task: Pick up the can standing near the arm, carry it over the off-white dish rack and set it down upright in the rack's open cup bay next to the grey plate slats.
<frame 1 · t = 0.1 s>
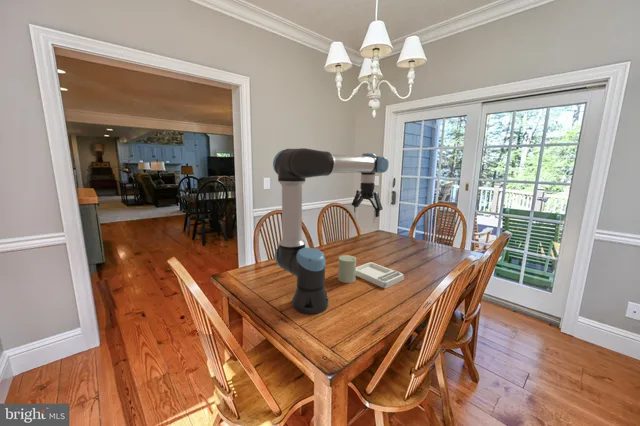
hand: (365, 220, 147), 28 cm above the table, fingers open, 13 cm apart
rack: (377, 276, 140), on the table
can: (346, 279, 136), on the table
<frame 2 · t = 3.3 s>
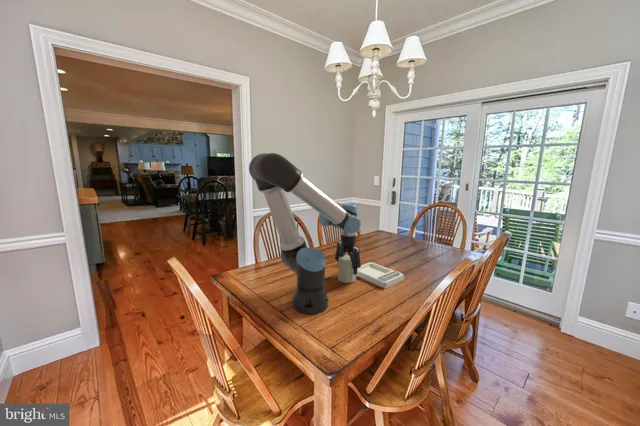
hand: (346, 276, 136), 1 cm above the table, fingers closed on can, 9 cm apart
can: (346, 279, 136), on the table, touching gripper
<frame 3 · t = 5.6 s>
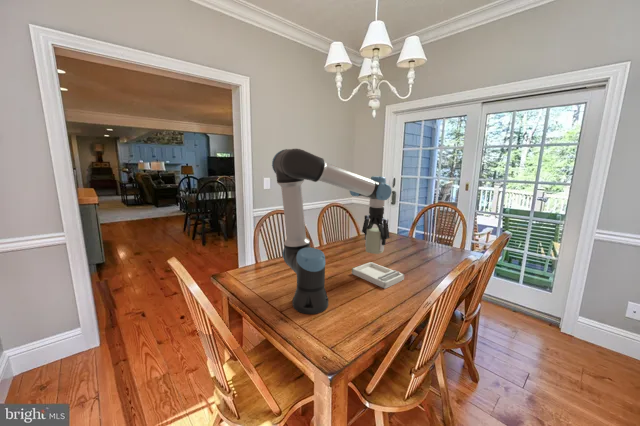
hand: (374, 248, 139), 15 cm above the table, fingers closed on can, 9 cm apart
can: (374, 251, 139), point 13 cm above the table, touching gripper
when the fingers open (4 cm above the table, at t = 8.0 s): can drops 1 cm, resting on rack.
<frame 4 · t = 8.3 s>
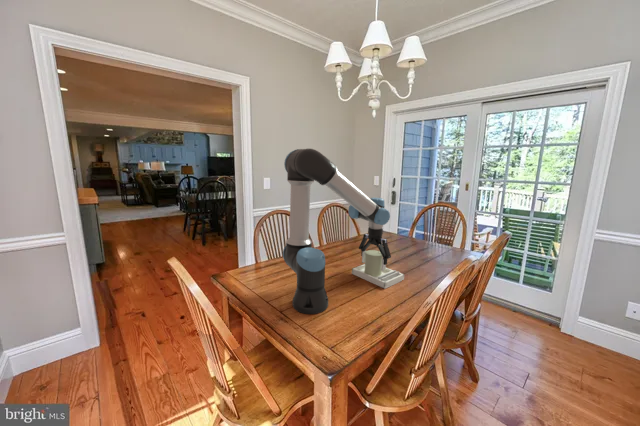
hand: (373, 266, 141), 5 cm above the table, fingers open, 12 cm apart
can: (372, 273, 142), point 1 cm above the table, touching rack
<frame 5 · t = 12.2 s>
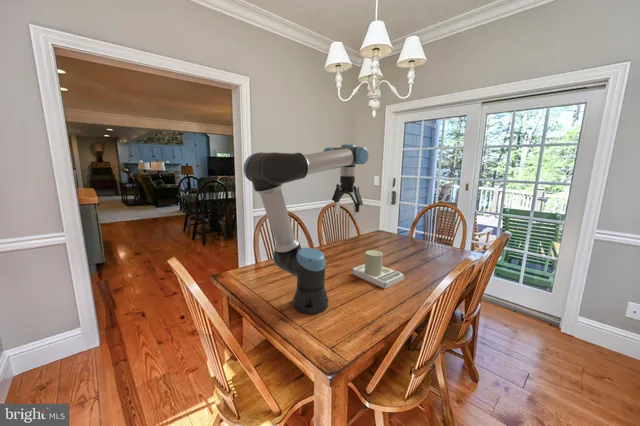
hand: (346, 216, 139), 32 cm above the table, fingers open, 13 cm apart
nothing on the table moved.
at the end: can inside the target area on the rack (0.0 cm from its centre), point 0.8 cm above the rack's base; can tilted 0°; can touching rack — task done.
